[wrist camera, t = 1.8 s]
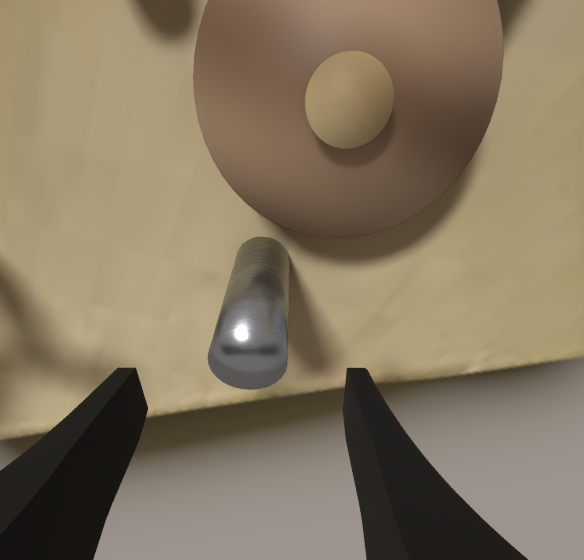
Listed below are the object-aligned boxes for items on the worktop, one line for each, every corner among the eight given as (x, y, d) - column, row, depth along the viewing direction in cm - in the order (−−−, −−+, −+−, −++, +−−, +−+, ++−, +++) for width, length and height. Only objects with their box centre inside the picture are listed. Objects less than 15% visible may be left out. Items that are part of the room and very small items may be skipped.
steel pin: (296, 276, 21) (297, 380, 14) (247, 289, 22) (226, 396, 15) (279, 230, 20) (272, 321, 13) (228, 245, 20) (194, 341, 13)
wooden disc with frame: (384, 243, 20) (403, 282, 16) (182, 163, 17) (155, 189, 14) (660, -217, 11) (816, -335, 8) (343, -474, 9) (372, -787, 6)
